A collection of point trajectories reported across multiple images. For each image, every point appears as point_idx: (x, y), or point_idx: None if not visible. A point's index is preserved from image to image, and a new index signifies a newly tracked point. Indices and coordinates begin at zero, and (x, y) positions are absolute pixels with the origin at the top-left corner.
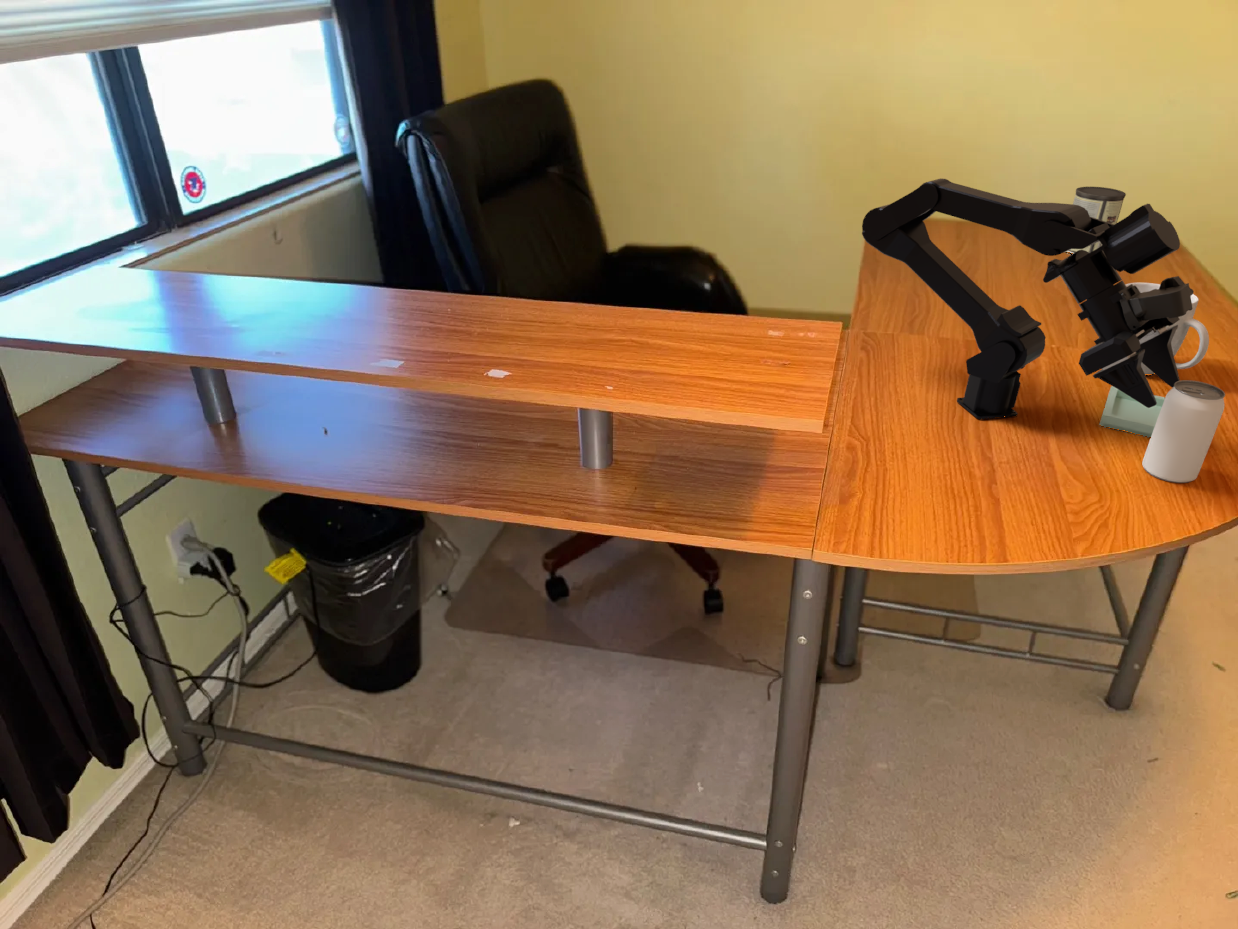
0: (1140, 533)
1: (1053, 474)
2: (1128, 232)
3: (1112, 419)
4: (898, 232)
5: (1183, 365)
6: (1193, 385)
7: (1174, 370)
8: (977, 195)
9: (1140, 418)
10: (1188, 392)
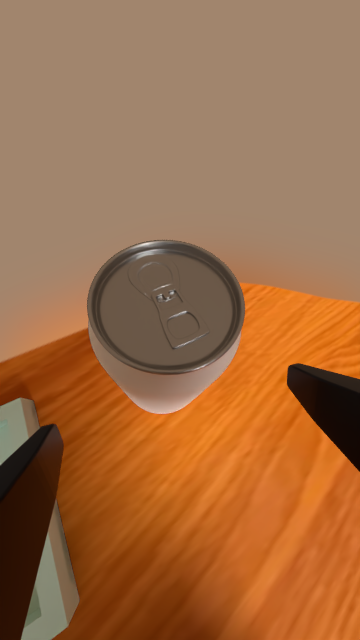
0: (327, 311)
1: (345, 470)
2: None
3: (63, 585)
4: None
5: None
6: (127, 334)
7: (23, 470)
8: None
9: None
10: (207, 312)
